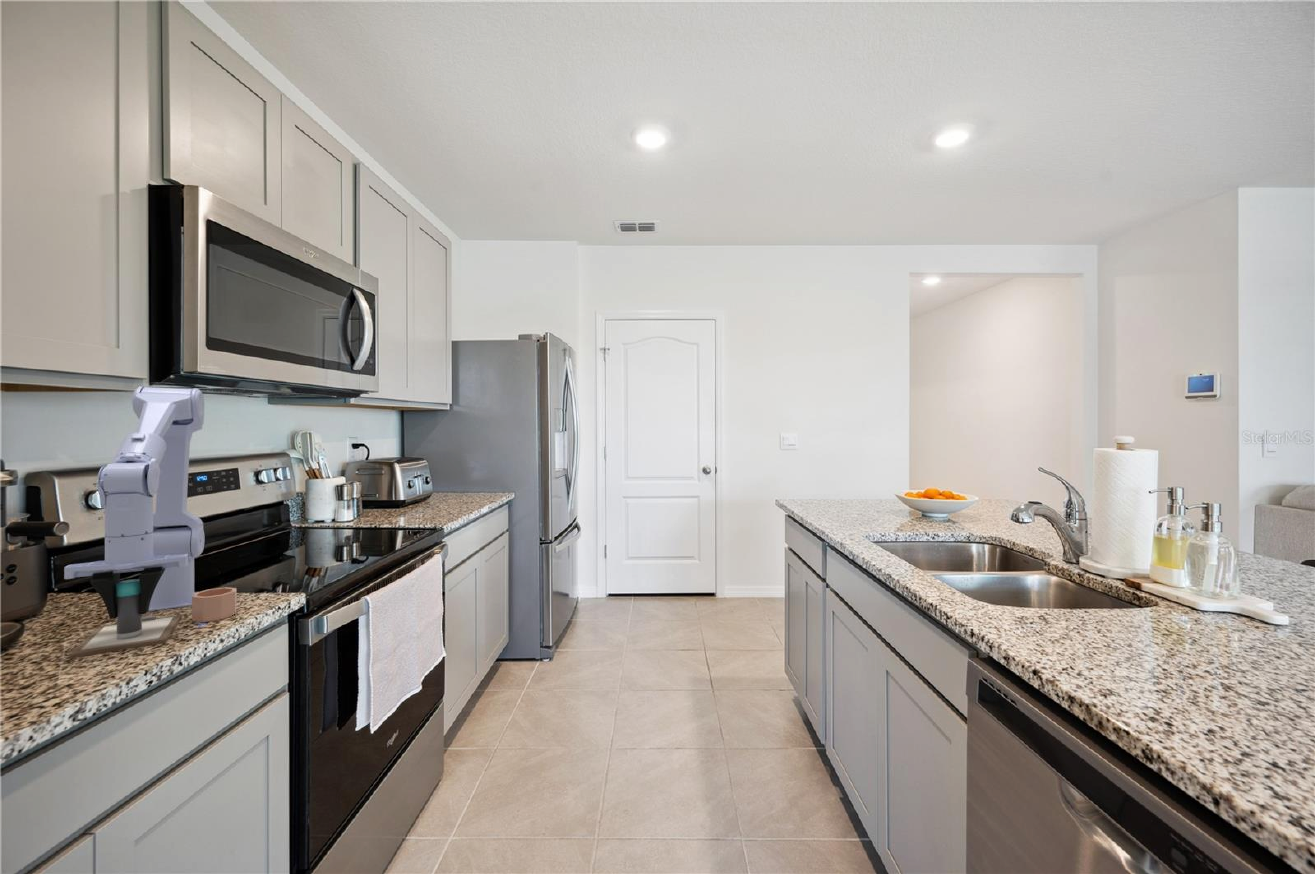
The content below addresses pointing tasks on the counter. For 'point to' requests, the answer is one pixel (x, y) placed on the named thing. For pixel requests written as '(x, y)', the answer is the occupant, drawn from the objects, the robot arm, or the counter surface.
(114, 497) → the robot arm
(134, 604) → the marker
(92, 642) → the picture frame
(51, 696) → the counter surface
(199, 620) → the terracotta pot
